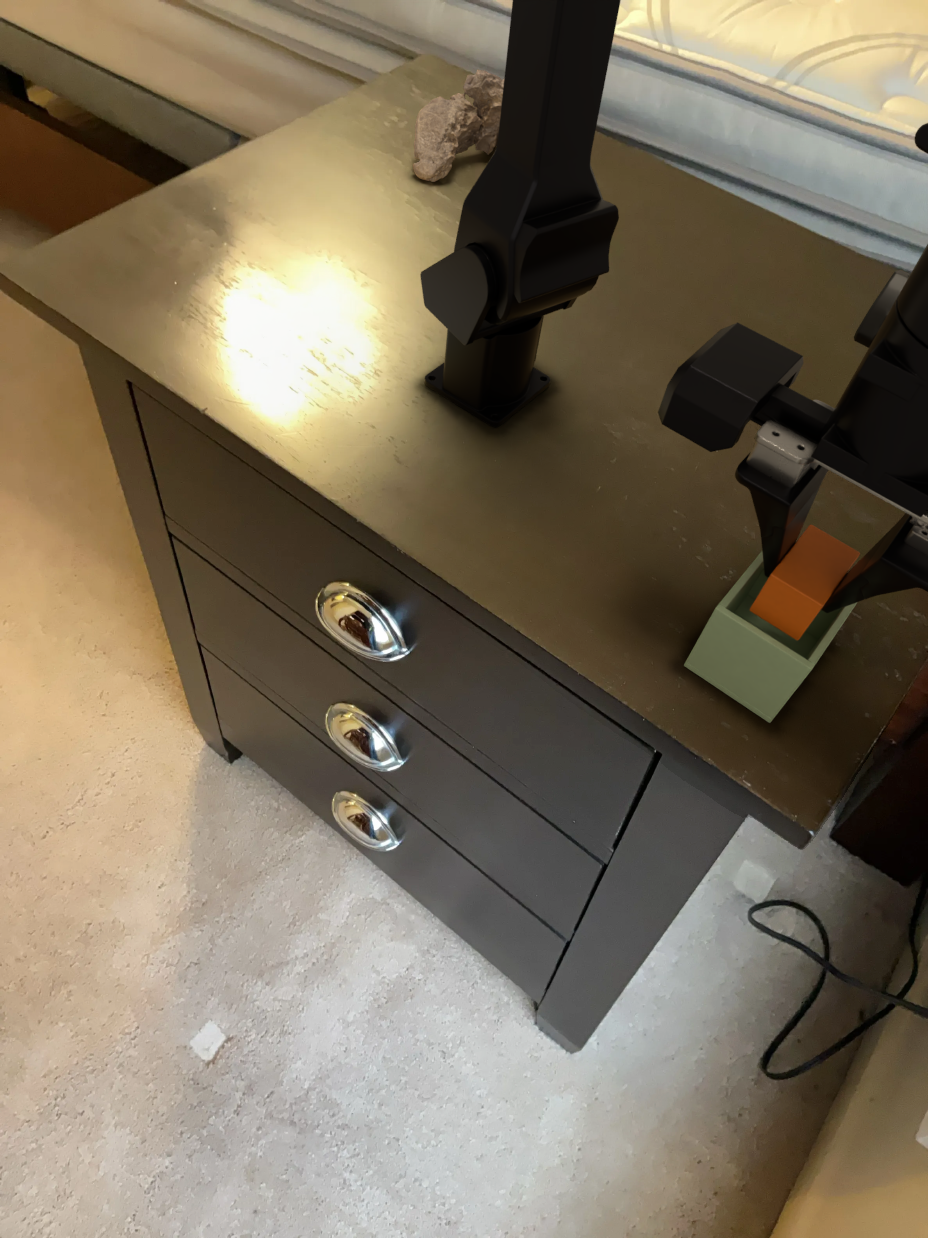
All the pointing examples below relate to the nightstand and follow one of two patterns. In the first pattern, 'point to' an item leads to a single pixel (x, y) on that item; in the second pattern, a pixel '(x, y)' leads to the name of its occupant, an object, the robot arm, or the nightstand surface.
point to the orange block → (803, 581)
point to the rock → (457, 125)
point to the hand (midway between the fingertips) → (799, 589)
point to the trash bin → (758, 648)
